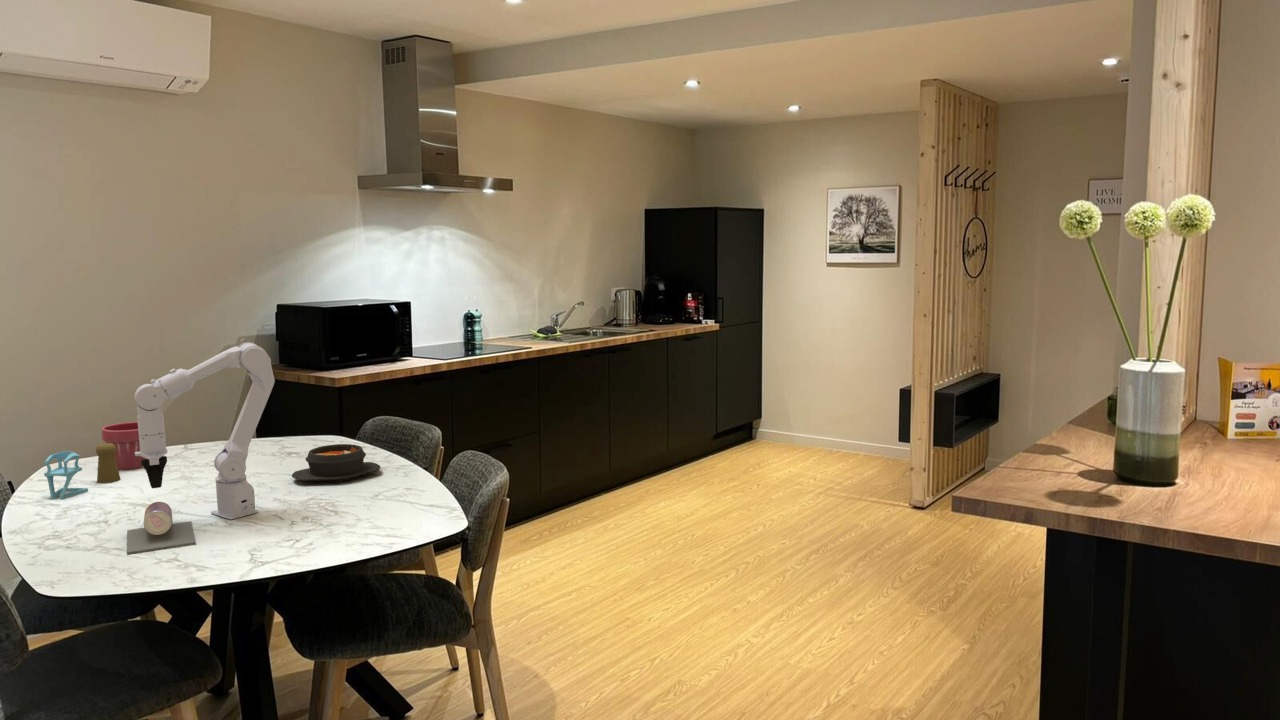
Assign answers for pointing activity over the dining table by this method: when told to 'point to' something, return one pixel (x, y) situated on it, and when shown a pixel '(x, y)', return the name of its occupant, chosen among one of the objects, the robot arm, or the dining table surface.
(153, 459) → the robot arm
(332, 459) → the casserole
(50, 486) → the chair
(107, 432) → the plant pot
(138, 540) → the mat
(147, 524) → the beverage can
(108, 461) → the cork
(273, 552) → the dining table surface
